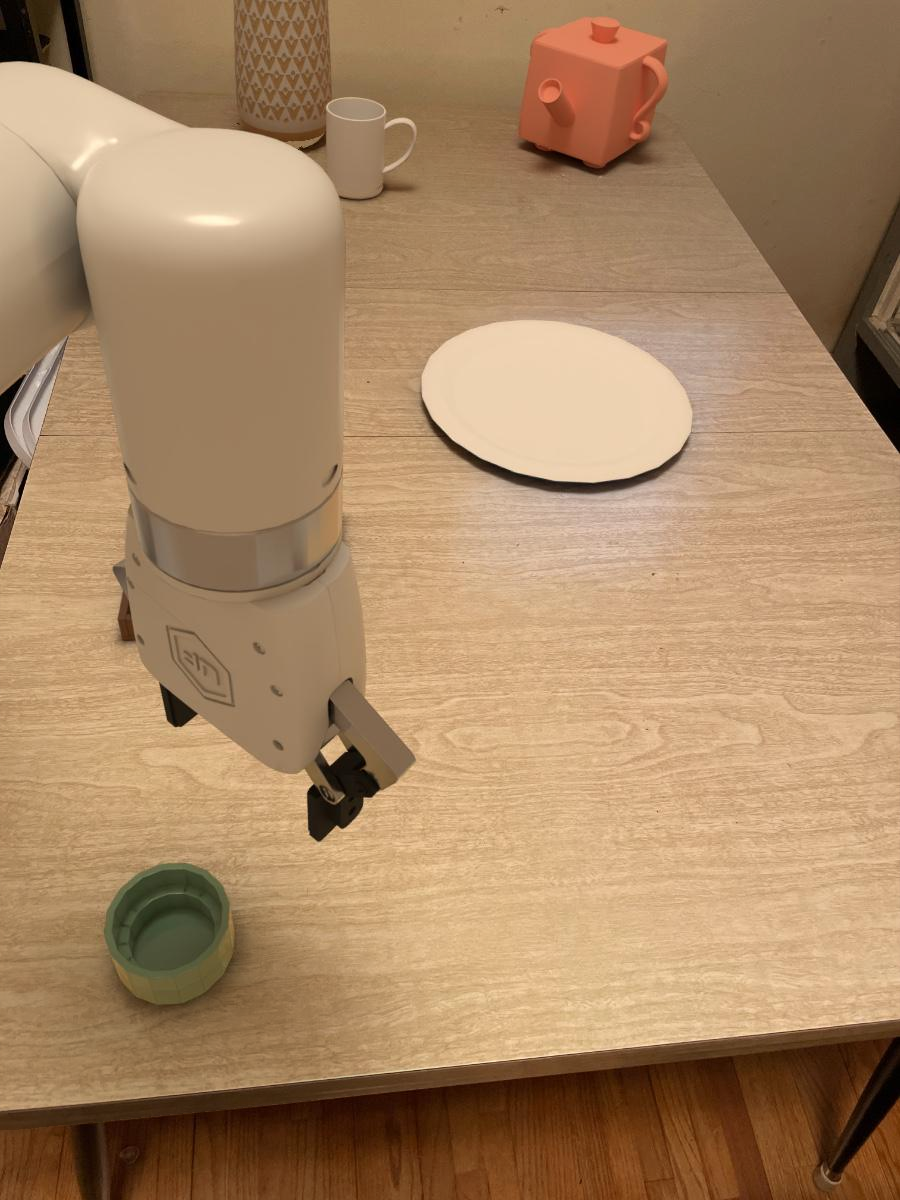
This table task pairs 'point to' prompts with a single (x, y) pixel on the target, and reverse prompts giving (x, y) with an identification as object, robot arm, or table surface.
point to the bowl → (170, 933)
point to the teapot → (592, 89)
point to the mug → (359, 145)
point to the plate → (556, 401)
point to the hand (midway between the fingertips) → (263, 761)
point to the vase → (283, 67)
